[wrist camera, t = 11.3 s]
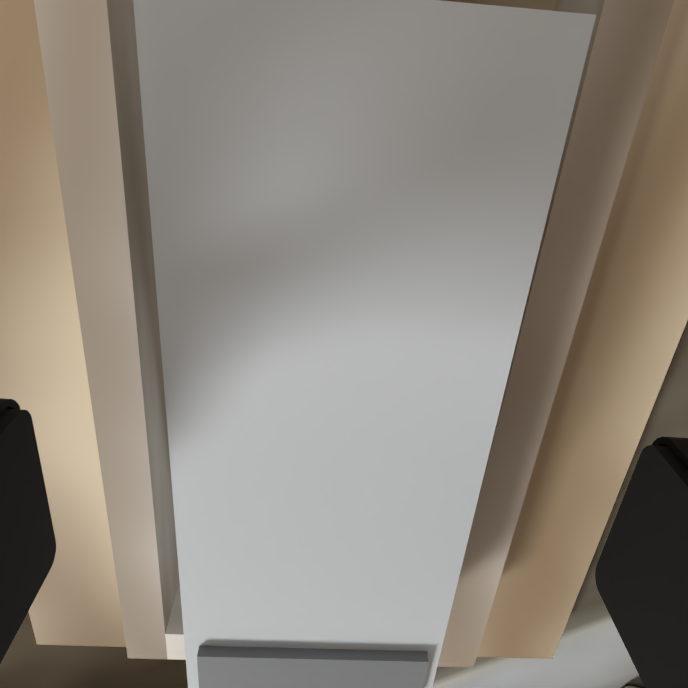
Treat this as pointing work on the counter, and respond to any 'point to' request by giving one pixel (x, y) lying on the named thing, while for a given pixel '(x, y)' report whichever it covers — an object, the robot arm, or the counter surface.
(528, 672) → the counter surface
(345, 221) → the white block
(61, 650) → the counter surface
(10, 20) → the cradle
